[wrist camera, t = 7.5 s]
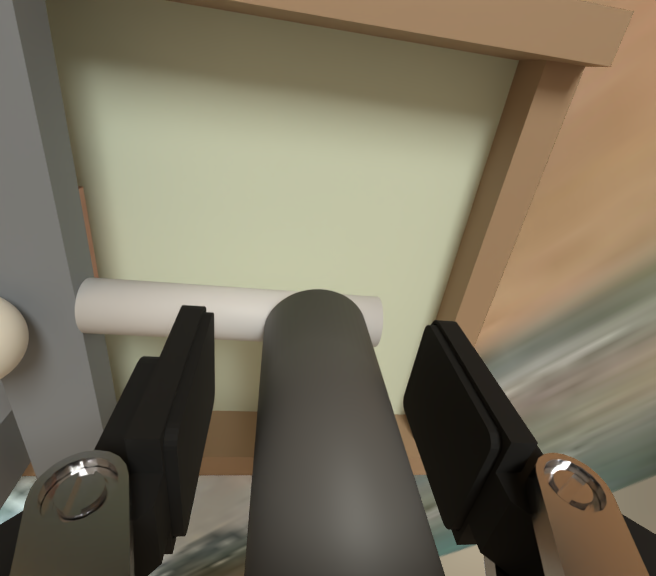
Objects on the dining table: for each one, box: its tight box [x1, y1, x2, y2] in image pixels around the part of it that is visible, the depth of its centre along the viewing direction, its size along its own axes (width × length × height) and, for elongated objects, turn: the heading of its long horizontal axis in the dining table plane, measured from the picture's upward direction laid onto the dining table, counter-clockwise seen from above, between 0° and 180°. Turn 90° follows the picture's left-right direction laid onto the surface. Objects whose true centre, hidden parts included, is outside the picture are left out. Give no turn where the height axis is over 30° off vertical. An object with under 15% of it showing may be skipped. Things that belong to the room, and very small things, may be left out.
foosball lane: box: [0, 0, 634, 509], centre depth 13 cm, size 22×18×6 cm
